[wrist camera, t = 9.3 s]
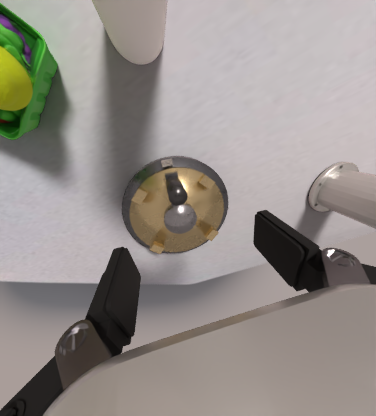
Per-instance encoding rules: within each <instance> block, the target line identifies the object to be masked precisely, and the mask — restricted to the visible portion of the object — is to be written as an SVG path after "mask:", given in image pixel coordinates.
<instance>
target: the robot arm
mask: <svg viewBox="0 0 376 416" xmlns="http://www.w3.org/2000/svg"><path fill="white" fill-rule="evenodd" d="M309 204H310V206H311V208H313V209H314V210H317V211H320V212H325V211H329V210H333V211H335V212H338V213H340V214H342V215H345V216H347V217H349V218H352V219H354V220H356V221H359V222H361V223H363V224H366V225H368V226H370V227H373V228H375V229H376V175H373V174H368V173H362V172H359V170H358V167H357V166H356V165H355V164H353V163H349V162H340V163H337V164H334V165H332V166H331V167H329V168H328V169H326V170H325V171H324V172H323V173H322V174H321V175H320V176H319V177H318V178H317V179H316V181H315V182H314V184H313V185H312V187H311V190H310V193H309ZM254 245H255V247H256V248H257V249H258V250H259V252H260V253H261V254H262V255H263V256H264V257H265V258H266V260H267V261H268V262H269V263H270V264H271V265H272V266H273V267H274V269H275V270H276V271H277V272H278V273H279V274H280V276H282V278H283V279H284V280H285V281H286V282H287V284H288V285H290V286H291V287H292V286H293V288H294V289H295V290H296V291H300V290H303V289H306V290H307V291H308V292H309V293H306V294H302V295H299V296H296V297H292V298H289V299H286V300H283V301H280V302H276V303H273V304H270V305H267V306H264V307H260V308H257V309H254V310H251V311H248V312H245V313H242V314H238V315H236V316H232V317H229V318H226V319H223V320H220V321H217V322H213V323H210V324H207V325H204V326H201V327H198V328H195V329H192V330H189V331H186V332H182V333H179V334H176V335H173V336H170V337H167V338H164V339H161V340H158V341H155V342H152V343H149V344H146V345H144V346H141V347H138V348H135V349H132V350H129V351H127V352H124V353H122V354H121V352H122V348H123V346H126V345H129V344H130V342H131V337H132V336H133V335H134V332H135V324H136V315H137V306H138V297H139V289H140V280H141V276H140V273H139V271H138V269H137V267H136V265H135V263H134V261H133V259H132V257H131V255H130V253H129V251H128V249H127V248H124V247H120V248H116V249H114V250H113V252H112V255H111V258H110V260H109V263H108V265H107V268H106V271H105V272H104V273H103V275H102V277H101V280H100V282H99V285H98V287H97V290H96V293H95V295H94V298H93V300H92V303H91V305H90V308H89V310H88V313H87V316H86V318H85V320H81V321H79V322H76V323H75V324H74V325H72V326H71V327H70V328H69V329H68V330H67V331H66V332H65V333H64V334H63V335H62V337H61V338H60V340H59V342H58V344H57V346H56V349H55V356H54V357H53V358H52V359H51V360H50V361H49V362H48V363H47V365H45V366H44V367H43V368H42V369H41V370H40V371H39V372H38V373H37V374H36V375H35V376H34V377H33V378H32V379H31V380H30V381H29V382H28V383H27V384H26V385H25V386H24V387H23V388H22V389H21V390H20V391H19V392H18V393H17V394H16V395H15V396H14V397H13V398H12V399H11V400H10V401H9V402H8V403H7V404H6V405H5V406H4V407H3V408H2V409H1V410H0V416H376V267H373V266H369V265H365V264H361V263H360V261H359V260H358V259H357V258H356V257H355V256H354V255H352V254H350V253H349V252H347V251H344V250H341V249H337V248H326V249H323V250H320V249H319V246H318V245H316V244H315V243H313V242H312V241H311V240H309V239H308V238H306V237H305V236H303V235H302V234H300V233H299V232H297V231H296V230H295V229H293V228H292V227H290V226H289V225H287V224H286V223H284V222H283V221H282V220H280V219H279V218H277V217H276V216H274V215H273V214H271V213H270V212H268V211H267V210H263V211H259V212H257V214H256V215H255V225H254Z"/></svg>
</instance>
